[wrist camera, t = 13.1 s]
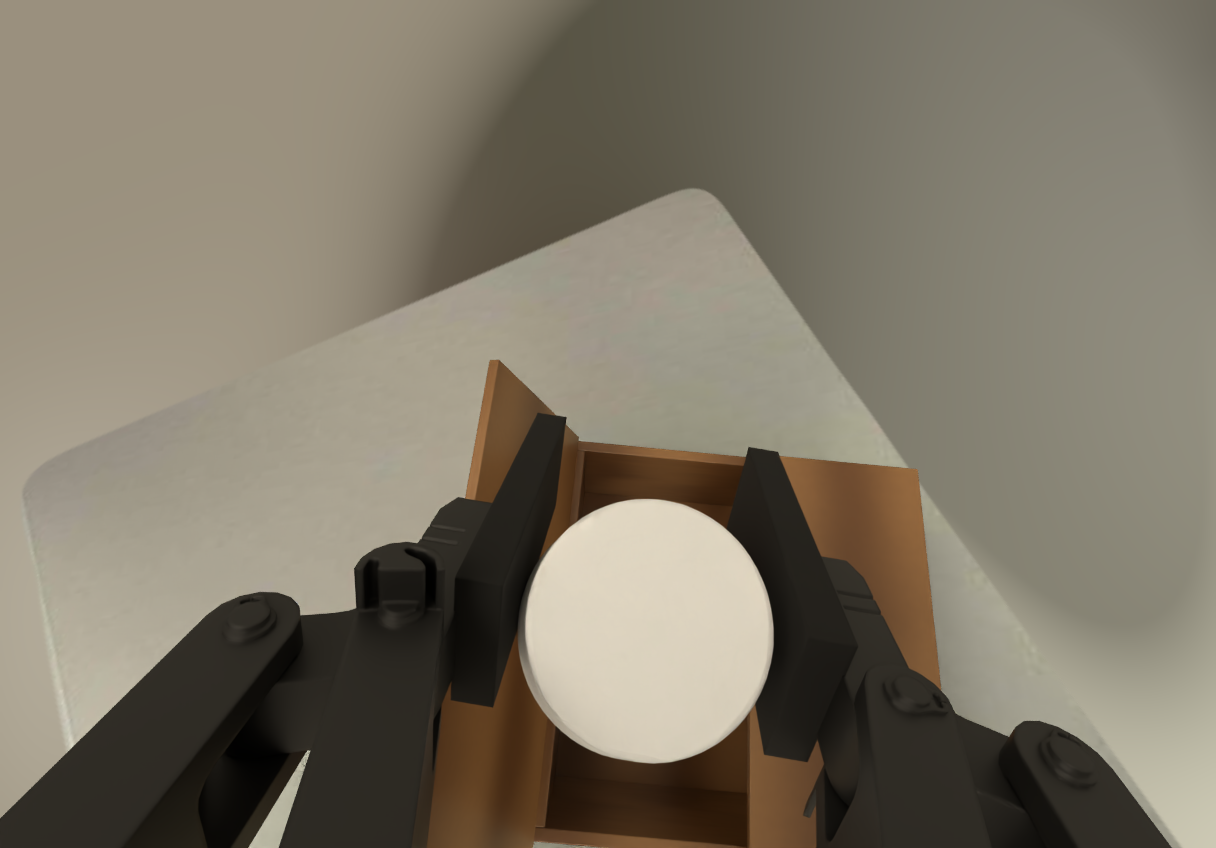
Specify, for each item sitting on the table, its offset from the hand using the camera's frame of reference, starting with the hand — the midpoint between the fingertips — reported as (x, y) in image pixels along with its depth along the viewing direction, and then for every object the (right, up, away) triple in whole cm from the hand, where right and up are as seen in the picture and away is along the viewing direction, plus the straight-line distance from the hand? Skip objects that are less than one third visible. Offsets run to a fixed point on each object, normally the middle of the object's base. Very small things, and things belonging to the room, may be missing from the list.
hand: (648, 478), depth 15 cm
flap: (-4, -6, +6) cm, 9 cm away
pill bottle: (-1, -5, +2) cm, 5 cm away
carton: (+5, -11, +20) cm, 23 cm away
